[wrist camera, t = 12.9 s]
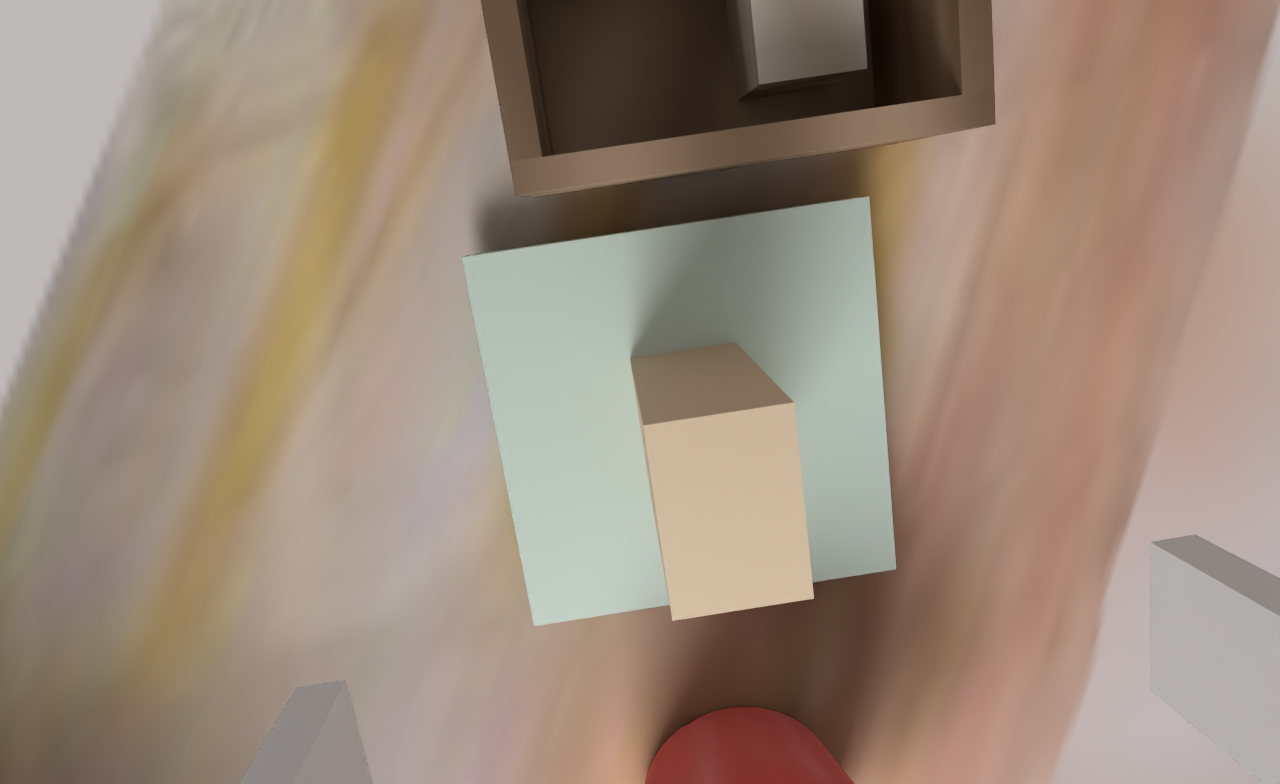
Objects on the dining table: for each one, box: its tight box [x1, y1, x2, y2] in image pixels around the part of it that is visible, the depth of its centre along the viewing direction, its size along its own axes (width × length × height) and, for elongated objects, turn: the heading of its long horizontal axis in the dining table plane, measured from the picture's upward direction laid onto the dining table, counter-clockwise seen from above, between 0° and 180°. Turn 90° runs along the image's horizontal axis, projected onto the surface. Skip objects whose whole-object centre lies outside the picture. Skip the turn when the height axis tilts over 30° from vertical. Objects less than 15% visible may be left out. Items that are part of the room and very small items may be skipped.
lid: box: [462, 196, 896, 626], centre depth 23 cm, size 13×13×10 cm
